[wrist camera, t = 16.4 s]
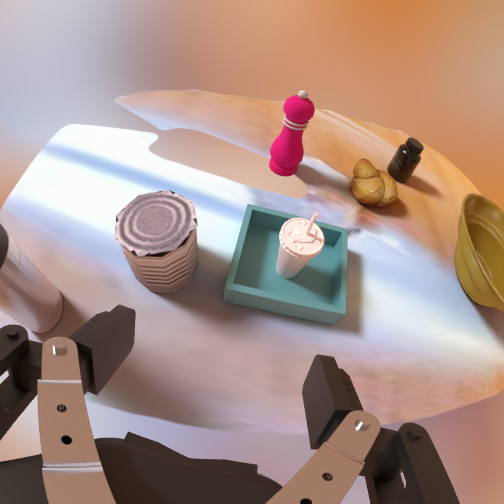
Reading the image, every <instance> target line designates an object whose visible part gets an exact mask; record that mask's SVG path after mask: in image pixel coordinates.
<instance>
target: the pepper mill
mask: <svg viewBox="0 0 504 504" xmlns="http://www.w3.org/2000/svg"><path fill="white" fill-rule="evenodd" d="M307 96H308V94H307V92H306V91H304V90H302V91H300V92H299V93H298V95H295V96H291V97H289V98H288V99H287V100H286V101H285V103H284V108H283V109H284V112H285V115H284V119H283V123H284V127H283V130H282V132H281V134H280V135H279V136H278V137H277V138H276V140H275V141H274V142H273V144H272V146H271V149H270V154H271V159H270V163H269V166H270V169H271V170H272V171H273V172H274V173H276V174H278V175H280V176H291V175H293V174H294V173H295V172H296V170H297V166H298V164H299V163H300V162H301V161H302V158H303V154H304V149H303V144H302V135H303V131H304V129H306V128H307V125H308V120H310V119H311V118H312V117H313V115H314V111H315V108H314V105H313V103H312V102H311V101H310V100H309V99H308V98H307Z"/></svg>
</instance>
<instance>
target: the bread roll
mask: <svg viewBox="0 0 504 504" xmlns="http://www.w3.org/2000/svg"><path fill="white" fill-rule="evenodd" d="M353 173H354V177H353V180H352V184H351V188H352V192H353V194H354V196H355V198H356V199H357V200H358V201H359V202H361V203H363V204H369V205H370V204H371V205H372V206H375V207H381V208H383V207H384V206H387V205H390V204H391V203H392V202H393V201H395V200H396V198H397V196H398V193H397V186H396V182H395V181H394V179H393V178H392V177H391V176H390V175H389V174H388V173H386V172H384V171H381V170H376V168H375V167H374V166H373V165H372V164H371V162H370V161H368V160H367V159H360V160H359V161H358V162H357V163H356V165H355V167H354V169H353Z"/></svg>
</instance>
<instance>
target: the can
mask: <svg viewBox="0 0 504 504" xmlns="http://www.w3.org/2000/svg"><path fill="white" fill-rule="evenodd" d="M197 226H198V225H197V220H196V215H195V209H194V204H193V201H191V200H189V199H187V198H185V197H183V196H181V195H179V194H176V193H174V192H172V191H170V190H165V191H160V192H154V193H149V194H143V195H138V196H137V197H136V198H135V199H134V200H133V201H132V202H130V203H129V204H128V205H127V206H126V207H125V208H124V209H123V210H122V211H120V212H119V213H118V214H117V216H116V229H115V241H116V242H118V243H119V244H120V246H121V248H122V250H123V253H124V255H125V257H126V259H127V261H128V263H129V265H130V267H131V269H132V271H133V273H134V275H135V277H136V279H137V280H138V281H139V282H140V283H142V284H143V285H144V286H145V287H146V288H147V289H148V290H150V291H151V292H166V293H173V292H174V291H176V290H178V289H179V288H181V287H183V286H185V285H186V284H188V283H190V282H191V280H192V277H193V275H194V273H195V271H196V269H197V266H198V251H197V233H196V227H197Z"/></svg>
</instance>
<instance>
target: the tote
mask: <svg viewBox="0 0 504 504" xmlns="http://www.w3.org/2000/svg"><path fill="white" fill-rule="evenodd" d="M292 218H303V217H299V216H295V215H291V214H287V213H283V212H279V211H275V210H271V209H267V208H263V207H259V206H255V205H250V204H248V205H247V208H246V212H245V215H244V219H243V223H242V226H241V230H240V233H239V237H238V241H237V244H236V248H235V251H234V255H233V259H232V262H231V266H230V270H229V273H228V277H227V281H226V285H225V289H224V298H223V301H225V302H229V303H233V304H237V305H242V306H246V307H250V308H254V309H259V310H263V311H268V312H272V313H277V314H282V315H286V316H291V317H296V318H301V319H306V320H311V321H316V322H321V323H326V324H332V325H333V324H334V323H336V322H337V321H338V320H339V319H341V318H342V317H343V316H344V315H346V299H347V229H344V228H340V227H337V226H333V225H329V224H326V223H322V222H318V221H315V222H314V223H315V224H316V225H317V226H318V227H319V228H320V229H321V231H322V232H323V235H324V245H323V248H322V250H321V251H320V253H319V254H318V255H317V256H315V257H313V258H312V259H311V260H310V261H309V262H308V263H307V264H306V265H305V266H304V267H303V268H302V269H301V270H300V271H299V272H298V273H297V275H296V276H295V277H293V278H290V279H287V278H283V277H281V276H280V275H279V274H278V273H277V270H276V264H277V258H278V253H279V247H280V239H279V234H280V230H281V228H282V226H283V225H284V223H285V222H286V221H288V220H290V219H292ZM305 219H307V218H305ZM308 220H310V221H311V219H308Z"/></svg>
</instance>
